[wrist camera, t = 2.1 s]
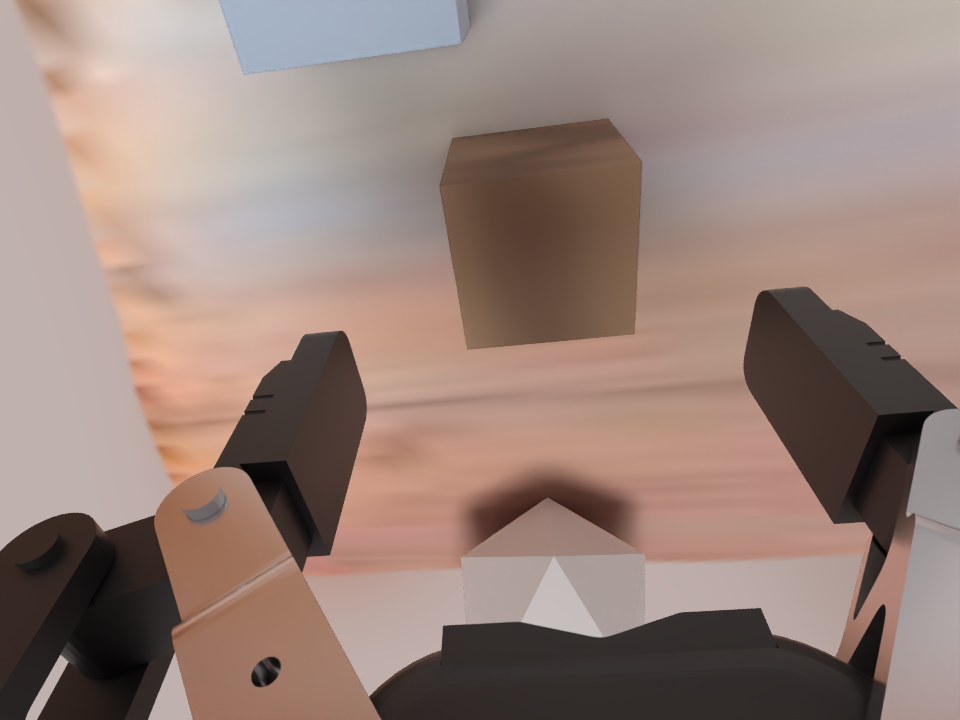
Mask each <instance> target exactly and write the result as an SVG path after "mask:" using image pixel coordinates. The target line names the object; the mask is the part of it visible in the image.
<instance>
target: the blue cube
mask: <svg viewBox="0 0 960 720" xmlns="http://www.w3.org/2000/svg"><path fill="white" fill-rule="evenodd" d="M219 2H220V5H221V8H222V11H223V14H224V17H225V20H226V23H227V26H228V29H229V32H230V35H231V38H232V41H233V44H234V47H235V50H236V53H237V56H238V59H239V62H240V65H241V68H242V71H243V74H244V75H247V74H254V73H261V72H268V71H275V70H282V69H289V68H296V67H303V66H310V65H317V64H324V63H331V62H338V61H345V60H352V59H359V58H366V57H373V56H380V55H387V54H394V53H401V52H408V51H415V50H422V49H429V48H436V47H443V46H450V45H457V44H461V43H462V41H463V40H464V38H465V36H466V34H467V32H468V31H469V29H470V19H469V10H468V1H467V0H219Z"/></svg>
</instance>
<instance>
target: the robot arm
mask: <svg viewBox="0 0 960 720" xmlns="http://www.w3.org/2000/svg"><path fill="white" fill-rule="evenodd" d="M900 357H901V355H899V354H898V353H897V352H896V351H895V350H894V349H893V348H892V347H891V346H890V345H885V341H884V340H883V339H882V338H881V337H880V336H879V335H878V334H877V333H876V332H875V331H874V330H872V329H871V328H870V327H869V326H868V325H867V324H866V323H864V322H862V321H860V320H858V319H856V318H854V317H852V316H850V315H848V314H846V313H844V312H842V311H840V310H831V309H830V308H829V307H828V306H827V305H826V304H825V303H824V302H823V301H822V300H821V299H820V298H819V297H818V296H817V295H816V294H815V293H814V292H813V291H812V290H811V289H810V288H808V287H795V288H785V289H775V290H765V291H762V292H760V294H759V295H758V297H757V299H756V302H755V306H754V311H753V316H752V321H751V326H750V331H749V336H748V341H747V346H746V351H745V356H744V375H745V380H746V383H747V386H748V388H749V390H750V392H751V393H752V395H753V396H754V398H755V400H756V401H757V403H758V404H759V406H760V407H761V409H762V411H763V412H764V414H765V415H766V417H767V419H768V420H769V422H770V423H771V425H772V427H773V428H774V430H775V431H776V433H777V434H778V436H779V438H780V439H781V441H782V442H783V444H784V446H785V447H786V449H787V450H788V452H789V453H790V455H791V457H792V458H793V460H794V461H795V463H796V465H797V466H798V468H799V469H800V471H801V472H802V474H803V476H804V477H805V479H806V480H807V482H808V484H809V485H810V487H811V488H812V490H813V492H814V493H815V495H816V496H817V498H818V499H819V501H820V503H821V504H822V506H823V507H824V509H825V511H826V512H827V514H828V515H829V517H830V518H831V520H832V522H833V523H834V524H840V523H855V522H865V523H866V524H867V526H868V527H869V529H870V530H871V532H872V533H871V535H870V537H869V539H868V541H867V544H866V546H865V550H864V554H863V558H862V562H861V566H860V570H859V574H858V578H857V583H856V586H855V590H854V595H853V599H852V603H851V607H850V611H849V615H848V619H847V623H846V627H845V631H844V634H843V638H842V641H841V644H840V647H839V649H838V652H837V654H836V657H833V656H832V655H830V654H828V653H826V652H823V651H821V650H819V649H816V648H813V647H811V646H809V645H807V644H804V643H801V642H798V641H795V640H791V639H788V638H785V637H781V636H777V635H772V633H771V631H770V629H769V626H768V624H767V622H766V619H765V617H764V615H763V613H762V610H761V608H756V609H738V610H719V611H701V612H683V613H678V614H675V615H672V616H669V617H666V618H663V619H660V620H656V621H653V622H651V623H647V624H644V625H641V626H638V627H635V628H632V629H629V630H626V631H623V632H620V633H617V634H614V635H611V636H608V637H592V636H587V635H582V634H577V633H572V632H567V631H563V630H558V629H553V628H548V627H543V626H538V625H533V624H528V623H523V622H502V623H484V624H466V625H448V626H443V637H442V650H441V651H438V652H435V653H432V654H430V655H427V656H425V657H423V658H421V659H419V660H417V661H415V662H413V663H411V664H410V665H408V666H407V667H405V668H403V669H402V670H400V671H399V672H397V673H396V674H394V675H393V676H392V677H391V678H389V679H388V680H387V681H386V682H384V683H383V684H382V685H381V686H380V687H378V688H377V690H376V691H374V692H373V694H372V695H370V696H368V694H367V692H366V691H365V689H364V687H363V685H362V683H361V681H360V680H359V678H358V676H357V674H356V672H355V670H354V669H353V667H352V665H351V663H350V661H349V659H348V657H347V656H346V654H345V652H344V650H343V648H342V646H341V645H340V643H339V641H338V639H337V637H336V635H335V633H334V631H333V630H332V628H331V626H330V624H329V622H328V621H327V619H326V617H325V615H324V613H323V611H322V610H321V607H320V606H319V604H318V602H317V600H316V598H315V596H314V595H313V593H312V591H311V589H310V587H309V585H308V583H307V582H306V580H305V578H304V576H303V574H302V572H303V568H304V565H305V562H306V558H307V557H310V556H326V555H330V553H331V549H332V545H333V542H334V538H335V534H336V530H337V527H338V523H339V519H340V515H341V511H342V508H343V504H344V500H345V496H346V493H347V489H348V485H349V481H350V478H351V474H352V470H353V466H354V463H355V459H356V455H357V451H358V447H359V444H360V440H361V436H362V432H363V429H364V425H365V421H366V413H367V406H366V396H365V392H364V388H363V385H362V382H361V378H360V375H359V372H358V369H357V365H356V362H355V359H354V356H353V353H352V349H351V346H350V343H349V340H348V338H347V336H346V334H345V333H344V332H343V331H334V332H324V333H314V334H306V335H304V336H303V337H302V339H301V341H300V343H299V345H298V347H297V349H296V351H295V353H294V355H293V357H292V359H291V360H288V361H281V362H280V363H279V364H278V365H277V366H276V367H274V368H273V369H272V370H271V371H270V372H269V373H268V374H267V375H266V376H264V377H263V378H262V380H261V382H260V384H259V386H258V388H257V389H256V391H255V393H254V395H253V400H250V402H249V404H248V406H247V408H246V410H245V411H244V412H245V415H242V417H241V419H240V421H239V422H238V424H237V426H236V428H235V430H234V432H233V433H232V435H231V437H230V439H229V441H228V443H227V444H226V446H225V448H224V450H223V452H222V454H221V455H220V457H219V459H218V461H217V463H216V465H215V466H214V468H213V469H210V470H207V471H204V472H201V473H199V474H196V475H194V476H192V477H190V478H189V479H187V480H185V481H184V482H182V483H181V484H179V485H178V486H177V487H176V488H174V489H173V490H172V491H171V492H170V493H169V494H168V495H167V496H166V497H165V499H164V500H163V501H162V503H161V504H160V506H159V508H158V509H157V512H156V515H154V516H151V517H148V518H145V519H142V520H139V521H136V522H133V523H129V524H126V525H124V526H120V527H117V528H114V529H111V530H108V531H105V532H104V531H103V530H102V529H101V528H100V527H99V525H98V524H97V523H96V522H95V521H94V520H93V518H92V517H90V516H89V515H86V514H83V513H68V514H62V515H59V516H55V517H52V518H49V519H47V520H45V521H42V522H40V523H38V524H36V525H34V526H33V527H31V528H29V529H28V530H26V531H24V532H23V533H21V534H20V535H19V536H17V537H16V538H15V539H14V540H12V541H11V542H10V543H8V544H7V545H6V546H5V547H4V548H3V549H2V550H1V551H0V720H25V719H26V716H27V713H28V711H29V709H30V707H31V705H32V704H33V702H34V700H35V698H36V696H37V695H38V693H39V691H40V689H41V688H42V686H43V684H44V682H45V681H46V679H47V677H48V675H49V674H50V672H51V670H52V668H53V667H54V665H55V663H56V661H57V659H58V658H59V656H60V655H62V656H63V657H64V658H65V659H66V660H67V661H69V663H68V664H67V666H66V668H65V670H64V672H63V674H62V675H61V677H60V679H59V681H58V683H57V684H56V686H55V688H54V690H53V692H52V694H51V695H50V697H49V699H48V701H47V703H46V705H45V706H44V708H43V710H42V712H41V714H40V715H39V717H38V719H37V720H148V718H149V715H150V713H151V710H152V708H153V705H154V703H155V700H156V698H157V695H158V693H159V690H160V688H161V685H162V683H163V680H164V678H165V675H166V673H167V670H168V668H169V665H170V663H171V660H172V658H173V655H174V653H176V657H177V661H178V665H179V669H180V672H181V676H182V680H183V684H184V687H185V691H186V695H187V699H188V703H189V706H190V710H191V713H192V718H193V720H960V409H958V408H957V407H956V406H955V405H953V404H952V403H951V402H950V401H949V400H948V399H947V398H946V397H945V396H944V395H943V394H942V393H941V392H939V391H938V390H937V389H936V388H935V387H934V386H933V385H932V384H931V383H930V382H929V381H928V380H926V379H925V378H924V377H923V376H922V375H921V374H920V373H919V372H918V371H917V370H916V369H915V368H914V367H912V366H911V365H910V364H909V363H908V362H907V361H906V360H905V359H903V360H901V358H900Z"/></svg>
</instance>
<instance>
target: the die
mask: <svg viewBox="0 0 960 720" xmlns="http://www.w3.org/2000/svg"><path fill="white" fill-rule="evenodd" d="M461 564H462V576H463V589H464V600H465V613H466V624H484V623H502V622H523V623H528V624H533V625H538V626H543V627H548V628H553V629H558V630H563V631H567V632H572V633H577V634H582V635H587V636H592V637H608V636H611V635H614V634H617V633H620V632H623V631H626V630H629V629H632V628H635V627H638V626H641V625H644V624H645V554H644V553H643V552H641V551H639V550H637V549H636V548H634V547H632V546H631V545H629V544H627V543H625V542H624V541H622V540H620V539H618V538H617V537H615V536H613V535H612V534H610V533H608V532H606V531H605V530H603V529H601V528H600V527H598V526H596V525H594V524H593V523H591V522H589V521H587V520H586V519H584V518H582V517H581V516H579V515H577V514H575V513H574V512H572V511H570V510H568V509H567V508H565V507H563V506H562V505H560V504H558V503H556V502H555V501H553V500H551V499H550V498H548V497H547V498H546V499H544V500H543V501H541V502H540V503H538V504H537V505H536V506H534V507H533V508H531V509H530V510H528V511H527V512H525V513H524V514H523V515H521V516H520V517H518V518H517V519H515V520H514V521H512V522H511V523H510V524H508V525H507V526H505V527H504V528H502V529H501V530H499V531H498V532H497V533H495V534H494V535H492V536H491V537H489V538H488V539H487V540H485V541H484V542H482V543H481V544H479V545H478V546H476V547H475V548H474V549H472V550H471V551H469V552H468V553H466V554H465V555H463V556H462V557H461Z"/></svg>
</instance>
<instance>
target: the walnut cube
mask: <svg viewBox="0 0 960 720" xmlns="http://www.w3.org/2000/svg"><path fill="white" fill-rule="evenodd" d="M641 172H642V161H641V160H640V159H639V157H638V156H637V155H636V154H635V152H634V151H633V150H632V148H631V147H630V146H629V145H628V143H627V142H626V141H625V140H624V138H623V137H622V136H621V135H620V133H619V132H618V131H617V130H616V128H615V127H614V126H613V124H612V123H611V122H610V121H609V119H601V120H593V121H585V122H578V123H570V124H562V125H554V126H546V127H539V128H531V129H523V130H515V131H507V132H500V133H492V134H484V135H476V136H469V137H461V138H453V139H452V142H451V146H450V149H449V153H448V157H447V160H446V164H445V168H444V172H443V175H442V179H441V183H440V191H441V197H442V203H443V209H444V215H445V221H446V227H447V233H448V239H449V245H450V250H451V256H452V262H453V268H454V274H455V280H456V286H457V292H458V298H459V304H460V309H461V315H462V321H463V327H464V333H465V339H466V345H467V350H469V349H479V348H490V347H501V346H512V345H523V344H534V343H544V342H555V341H566V340H577V339H588V338H598V337H609V336H620V335H631V334H635V313H636V290H637V266H638V243H639V219H640V195H641Z"/></svg>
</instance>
